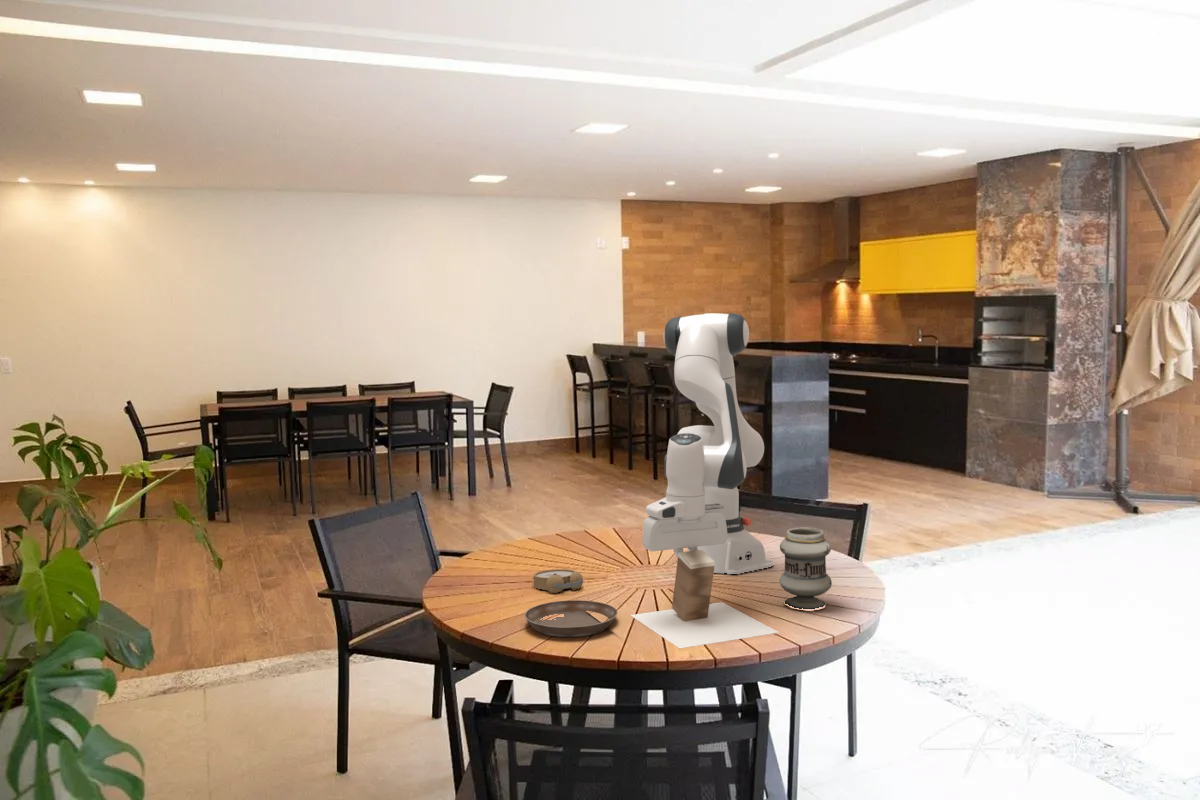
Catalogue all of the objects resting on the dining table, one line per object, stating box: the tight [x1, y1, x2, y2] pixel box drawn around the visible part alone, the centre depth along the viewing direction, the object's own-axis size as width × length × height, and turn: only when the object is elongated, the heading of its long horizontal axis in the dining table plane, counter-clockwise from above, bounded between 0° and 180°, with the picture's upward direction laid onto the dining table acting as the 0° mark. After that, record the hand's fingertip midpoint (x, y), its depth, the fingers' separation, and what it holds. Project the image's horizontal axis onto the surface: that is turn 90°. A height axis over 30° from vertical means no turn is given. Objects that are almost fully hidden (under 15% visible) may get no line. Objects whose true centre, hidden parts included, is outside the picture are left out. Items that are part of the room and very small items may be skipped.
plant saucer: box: [524, 599, 619, 638], centre depth 206 cm, size 21×21×3 cm
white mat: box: [629, 601, 780, 650], centre depth 204 cm, size 24×24×1 cm
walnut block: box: [671, 550, 715, 621], centre depth 207 cm, size 6×6×14 cm
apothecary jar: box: [779, 527, 833, 609], centre depth 219 cm, size 12×12×18 cm
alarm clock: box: [532, 568, 584, 594], centre depth 236 cm, size 11×5×15 cm
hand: (685, 566), depth 210 cm, fingers closed
